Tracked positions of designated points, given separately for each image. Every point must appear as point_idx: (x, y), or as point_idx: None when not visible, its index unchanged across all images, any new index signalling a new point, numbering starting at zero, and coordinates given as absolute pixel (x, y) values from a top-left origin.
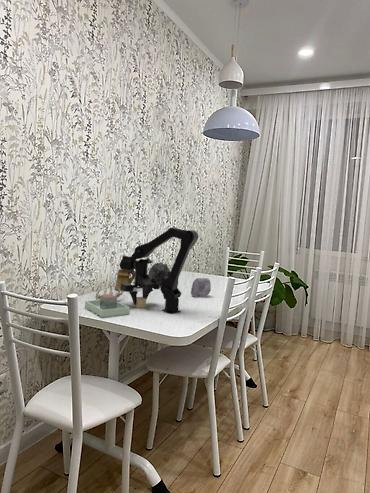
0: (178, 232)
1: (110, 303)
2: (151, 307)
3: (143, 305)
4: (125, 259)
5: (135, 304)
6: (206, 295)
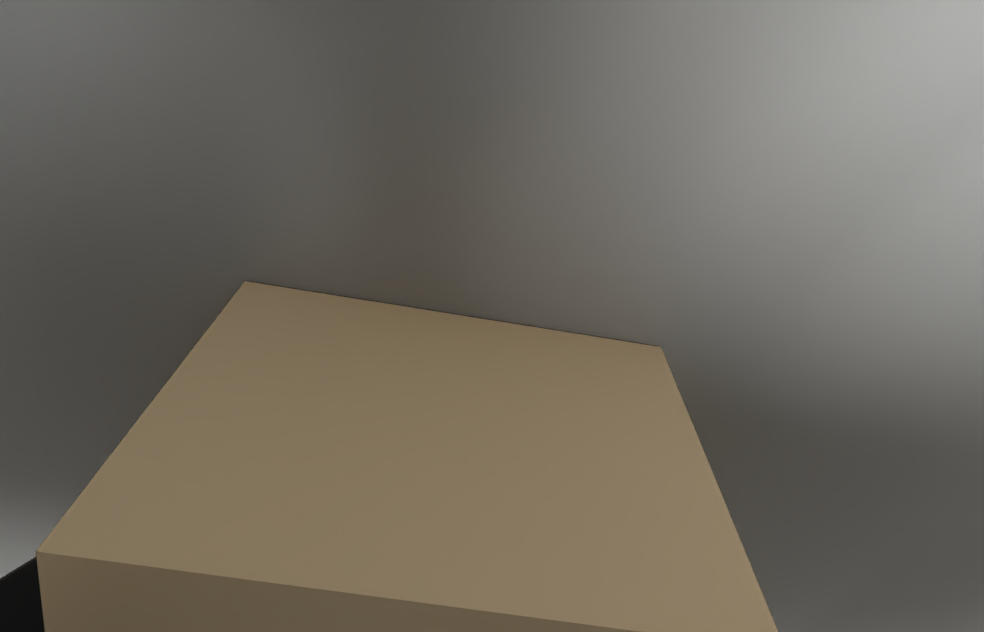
0: None
1: None
2: (37, 60)
3: (359, 340)
4: None
5: None
6: None
